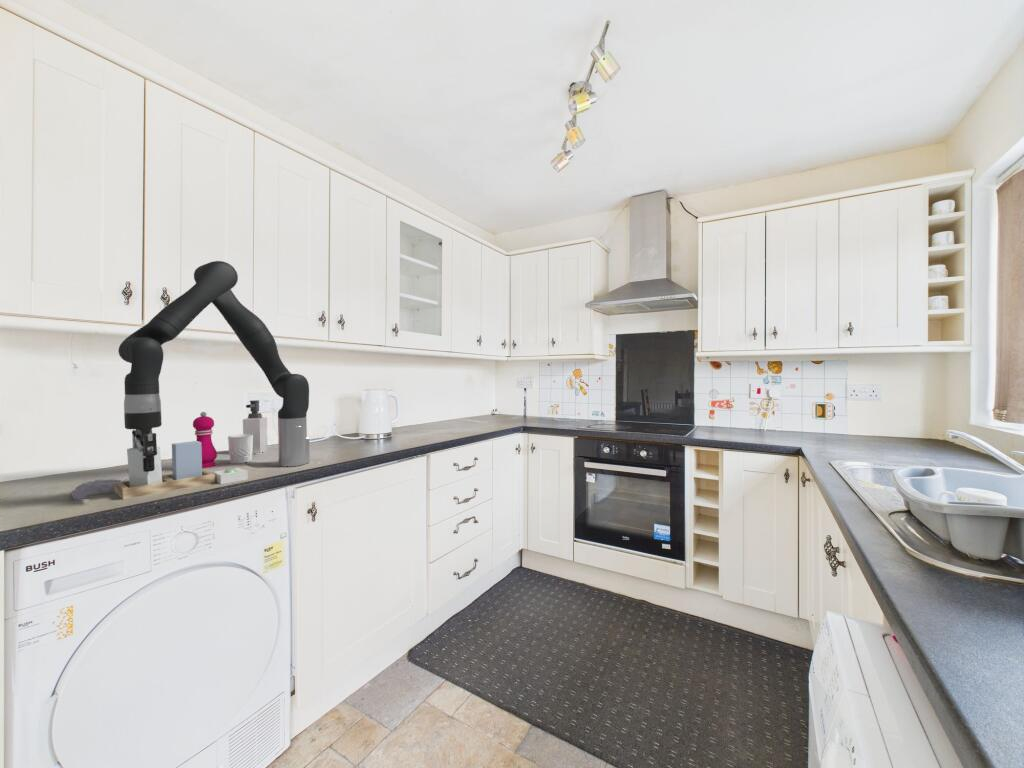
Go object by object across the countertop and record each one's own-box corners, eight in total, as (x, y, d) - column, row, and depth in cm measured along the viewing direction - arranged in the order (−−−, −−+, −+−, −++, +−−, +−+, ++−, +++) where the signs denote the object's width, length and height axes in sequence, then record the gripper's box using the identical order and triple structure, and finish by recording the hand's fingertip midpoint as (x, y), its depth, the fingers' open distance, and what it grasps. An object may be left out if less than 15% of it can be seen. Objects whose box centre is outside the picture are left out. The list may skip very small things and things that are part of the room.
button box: (239, 478, 129) (238, 467, 129) (247, 482, 125) (247, 470, 125) (212, 483, 123) (212, 471, 123) (221, 487, 119) (220, 475, 119)
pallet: (203, 480, 127) (202, 469, 127) (215, 486, 120) (214, 474, 120) (115, 495, 111) (114, 482, 111) (123, 503, 105) (123, 489, 105)
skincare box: (163, 488, 114) (162, 445, 114) (147, 493, 110) (146, 448, 109) (144, 488, 115) (143, 445, 115) (127, 492, 110) (126, 448, 110)
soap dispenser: (240, 455, 166) (239, 401, 165) (251, 451, 174) (250, 400, 174) (257, 454, 167) (256, 401, 166) (267, 450, 175) (266, 400, 175)
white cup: (223, 463, 151) (222, 436, 151) (242, 459, 158) (242, 433, 158) (239, 464, 149) (238, 437, 148) (258, 460, 156) (258, 434, 156)
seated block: (197, 480, 123) (197, 440, 123) (202, 482, 121) (201, 442, 120) (172, 484, 118) (171, 443, 118) (176, 486, 116) (175, 445, 116)
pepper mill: (203, 471, 138) (202, 413, 138) (186, 470, 140) (184, 412, 139) (222, 466, 146) (221, 411, 145) (205, 465, 147) (204, 410, 146)
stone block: (70, 508, 106) (121, 494, 112) (64, 491, 106) (116, 478, 111) (84, 498, 116) (130, 486, 122) (79, 483, 116) (126, 471, 121)
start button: (233, 476, 126) (233, 468, 126) (236, 477, 124) (236, 469, 124) (223, 478, 124) (223, 470, 124) (226, 479, 122) (226, 471, 122)
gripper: (167, 410, 110) (169, 470, 111) (154, 408, 119) (156, 463, 119) (130, 413, 104) (132, 475, 105) (118, 410, 113) (121, 468, 113)
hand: (145, 469), depth 112 cm, fingers open, 8 cm apart
